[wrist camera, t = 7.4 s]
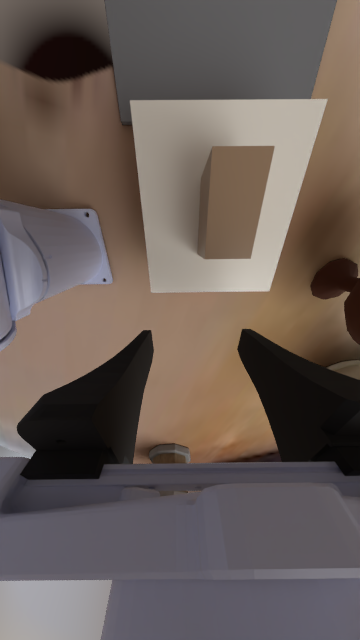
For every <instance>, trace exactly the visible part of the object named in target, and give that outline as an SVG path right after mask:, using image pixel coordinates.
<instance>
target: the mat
mask: <svg viewBox="0 0 360 640" xmlns="http://www.w3.org/2000/svg"><path fill="white" fill-rule="evenodd" d="M336 2H337V0H105V8H106V16H107V23H108V30H109V38H110V45H111V52H112V60H113V67H114V74H115V82H116V89H117V96H118V103H119V111H120V118H121V123H122V125H133V124H132V116H131V107H130V100H254V99H311V96H312V92H313V88H314V84H315V81H316V77H317V73H318V69H319V66H320V62H321V58H322V54H323V51H324V47H325V43H326V40H327V36H328V32H329V28H330V25H331V21H332V17H333V13H334V10H335V6H336Z"/></svg>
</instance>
